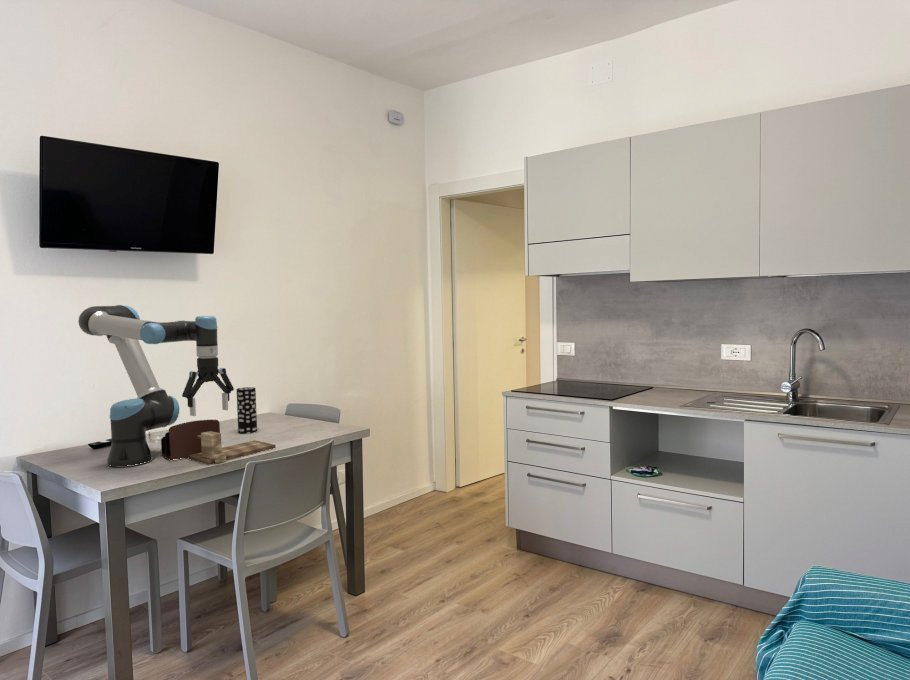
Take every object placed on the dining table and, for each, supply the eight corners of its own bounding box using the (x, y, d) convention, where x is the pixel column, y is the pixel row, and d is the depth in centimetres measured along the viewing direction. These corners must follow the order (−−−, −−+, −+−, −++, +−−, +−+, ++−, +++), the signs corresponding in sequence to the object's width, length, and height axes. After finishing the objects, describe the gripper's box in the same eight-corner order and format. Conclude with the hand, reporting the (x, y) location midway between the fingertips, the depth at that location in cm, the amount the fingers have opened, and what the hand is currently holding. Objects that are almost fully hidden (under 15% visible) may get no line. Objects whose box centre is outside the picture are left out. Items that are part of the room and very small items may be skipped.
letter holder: (221, 452, 260) (219, 417, 259) (170, 461, 246) (169, 425, 245) (211, 448, 267) (209, 414, 266) (161, 457, 254) (159, 421, 253)
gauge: (216, 463, 241) (215, 436, 240) (194, 457, 250) (193, 431, 249) (226, 461, 244) (225, 434, 243) (204, 455, 253) (203, 429, 252)
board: (209, 464, 240) (209, 460, 240) (188, 459, 249) (188, 455, 249) (275, 448, 264) (275, 444, 264) (254, 443, 273) (254, 440, 273)
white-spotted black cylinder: (238, 434, 291) (237, 390, 290) (237, 430, 299) (235, 388, 298) (258, 432, 295) (256, 389, 293) (256, 429, 302) (254, 386, 301)
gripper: (181, 360, 231) (184, 419, 233) (242, 354, 251) (243, 408, 253) (170, 359, 236) (173, 416, 237) (230, 353, 255) (232, 406, 257)
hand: (209, 412), depth 245 cm, fingers open, 13 cm apart
